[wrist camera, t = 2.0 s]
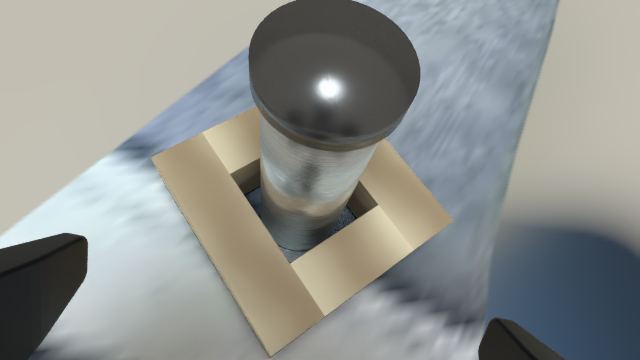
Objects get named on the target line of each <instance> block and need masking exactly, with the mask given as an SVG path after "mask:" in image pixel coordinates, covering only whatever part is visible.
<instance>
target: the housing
mask: <svg viewBox="0 0 640 360" xmlns="http://www.w3.org/2000/svg"><path fill="white" fill-rule="evenodd" d="M150 158H151V159H152V161H153V163H154V165H155V167H156V169H157V171H158V172H159V174H160V176H161V178H162V180H163V182H164V184H165V186H166V187H167V189H168V191H169V192H170V194H171V195H172V197H173V199H174V200H175V202H176V204H177V205H178V207H179V209H180V210H181V212H182V214H183V215H184V217H185V219H186V220H187V222H188V224H189V225H190V227H191V229H192V230H193V232H194V234H195V235H196V237H197V238H198V240H199V242H200V243H201V245H202V247H203V248H204V250H205V252H206V253H207V255H208V257H209V258H210V260H211V262H212V263H213V265H214V267H215V268H216V270H217V272H218V273H219V275H220V276H221V278H222V280H223V281H224V283H225V285H226V286H227V288H228V290H229V291H230V293H231V295H232V296H233V298H234V300H235V301H236V303H237V305H238V306H239V308H240V310H241V311H242V313H243V315H244V316H245V318H246V319H247V321H248V323H249V324H250V326H251V328H252V329H253V331H254V333H255V334H256V336H257V338H258V339H259V341H260V343H261V344H262V346H263V348H264V349H265V351H266V353H267V354H268V356H269V357H272V356H273V355H274V354H276V353H277V352H278V351H280V350H281V349H282V348H284V347H285V346H286V345H288V344H289V343H290V342H292V341H293V340H294V339H296V338H297V337H298V336H300V335H301V334H302V333H304V332H305V331H306V330H308V329H309V328H310V327H312V326H313V325H315V324H316V323H317V322H319V321H320V320H321V319H323V318H324V317H325V316H327V315H328V314H329V313H331V312H332V311H333V310H335V309H336V308H337V307H339V306H340V305H341V304H343V303H344V302H345V301H347V300H348V299H349V298H351V297H352V296H353V295H355V294H356V293H357V292H359V291H360V290H362V289H363V288H364V287H366V286H367V285H368V284H370V283H371V282H372V281H374V280H375V279H376V278H378V277H379V276H380V275H382V274H383V273H384V272H386V271H387V270H388V269H390V268H391V267H392V266H394V265H395V264H396V263H398V262H399V261H400V260H402V259H403V258H404V257H406V256H407V255H409V254H410V253H411V252H413V251H414V250H415V249H417V248H418V247H419V246H421V245H422V244H423V243H425V242H426V241H427V240H429V239H430V238H431V237H433V236H434V235H435V234H437V233H438V232H439V231H441V230H442V229H443V228H444V227H446V226H447V225H448V224H450V223H451V222H452V221H454V220H453V219H452V218H451V217H450V215H449V214H448V213H447V212H446V211H445V209H444V208H443V207H442V206H441V205H440V203H439V202H438V201H437V200H436V199H435V197H434V196H433V195H432V194H431V193H430V191H429V190H428V189H427V188H426V187H425V186H424V184H423V183H422V182H421V181H420V180H419V178H418V177H417V176H416V175H415V174H414V172H413V171H412V170H411V169H410V168H409V166H408V165H407V164H406V163H405V162H404V160H403V159H402V158H401V157H400V156H399V154H398V153H397V152H396V151H395V150H394V148H393V147H392V146H391V145H390V144H389V142H388V141H387V140H386V139H385V138H384V139H383V140H381V141H380V142H379V144H378V146H377V148H376V149H375V151H374V153H373V155H372V157H371V159H370V161H369V163H368V165H367V167H366V168H365V170H364V172H363V174H362V176H361V178H360V180H359V182H358V184H357V186H356V188H355V189H354V191H353V193H352V195H351V197H350V199H349V201H348V203H347V206H348V207H349V209H350V210H351V211H352V213H353V214H354V215H355V217H356V218H357V220H355V221H354V222H352V223H351V224H349V225H348V226H346V227H344V228H343V229H341V230H340V231H338V232H337V233H335V234H334V235H332V236H331V237H329V238H328V239H326V240H325V241H323V242H322V243H320V244H319V245H317V246H316V247H314V248H313V249H311V250H310V251H308V252H307V253H305V254H304V255H302V256H301V257H299V258H298V259H296V260H295V261H293V262H292V263H289V262H288V260H287V259H286V257H285V256H284V254H283V253H282V251H281V250H280V248H279V247H278V245H277V244H276V242H275V241H274V239H273V238H272V236H271V235H270V233H269V232H268V230H267V229H266V227H265V226H264V224H263V223H262V221H261V220H260V218H259V217H258V215H257V214H256V212H255V211H254V209H253V208H252V206H251V205H250V203H249V202H248V200H247V199H246V197H245V196H244V194H246V193H248V192H250V191H251V190H253V189H255V188H257V187H258V186H260V185H261V175H260V111H259V109H258V108H257V106H256V107H254V108H252V109H250V110H247V111H245V112H243V113H241V114H239V115H237V116H235V117H233V118H231V119H229V120H227V121H225V122H223V123H221V124H219V125H217V126H214V127H212V128H210V129H208V130H206V131H204V132H202V133H200V134H198V135H196V136H194V137H192V138H190V139H188V140H186V141H183V142H181V143H179V144H177V145H175V146H173V147H171V148H169V149H167V150H165V151H163V152H161V153H159V154H157V155H155V156H152V157H150Z"/></svg>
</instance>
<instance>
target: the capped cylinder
mask: <svg viewBox="0 0 640 360" xmlns="http://www.w3.org/2000/svg"><path fill="white" fill-rule="evenodd" d="M249 78H250V89H251V93H252V96H253V99H254V102H255V104H256V106H257V108H258V109H259V111H260V175H261V221H262V223H263V224H264V226H265V227H266V229H267V230H268V232H269V233H270V235H271V236H272V238H273V239H274V241H275V242H276V243H277V244H278V245H280V246H282V247H284V248H286V249H290V250H296V251H303V250H309V249H312V248H314V247H316V246H317V245H319V244H320V243H322V242H323V241H325V240H326V239H328V237H329V236H330V235H331V233H332V231H333V229H334V228H335V226H336V224H337V222H338V220H339V218H340V216H341V214H342V212H343V210H344V209H345V207H346V205H347V203H348V201H349V199H350V197H351V195H352V193H353V191H354V189H355V188H356V186H357V184H358V182H359V180H360V178H361V176H362V174H363V172H364V170H365V168H366V167H367V165H368V163H369V161H370V159H371V157H372V155H373V153H374V151H375V149H376V148H377V146H378V144H379V142H380V141H381V140H383V139H384V138H386V137H387V136H389V135H390V134H391V133H392V132H393V131H394V130H395V129H396V128H397V126H398V125H399V124H400V123H401V121H402V119H403V117H404V116H405V114H406V112H407V110H408V109H409V107H410V105H411V103H412V101H413V100H414V98H415V96H416V94H417V91H418V88H419V83H420V65H419V60H418V57H417V54H416V51H415V49H414V47H413V45H412V43H411V42H410V40H409V39H408V37H407V36H406V34H405V33H404V32H403V31H402V30H401V29H400V28H399V27H398V26H397V25H396V24H395V23H394V22H393V21H392V20H390V19H389V18H388V17H386V16H385V15H383V14H382V13H380V12H379V11H377V10H375V9H373V8H371V7H369V6H366V5H364V4H361V3H359V2H355V1H352V0H296V1H293V2H290V3H287V4H286V5H283V6H281V7H279V8H277V9H276V10H274V11H273V12H271V13H270V14H269V15H268V16H267V17H266V18H265V19H264V20H263V21H262V22H261V23H260V24H259V26H258V27H257V29H256V30H255V32H254V34H253V37H252V39H251V43H250V47H249Z"/></svg>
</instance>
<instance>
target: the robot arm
mask: <svg viewBox="0 0 640 360" xmlns="http://www.w3.org/2000/svg"><path fill="white" fill-rule="evenodd" d="M87 260H88V242H87V239H86V238H85V237H84V236H81V235H76V234H71V233H62V234H58V235H54V236H50V237H46V238H42V239H38V240H34V241H30V242H26V243H22V244H18V245H14V246H10V247H6V248H2V249H0V360H28V358H29V357H30V356H31V355H32V354H33V352H34V351H35V350H36V349H37V347H38V346H39V345H40V344H41V342H42V341H43V340H44V338H45V337H46V336H47V334H48V333H49V331H50V330H51V328H52V327H53V325H54V324H55V322H56V321H57V320H58V318H59V317H60V315H61V314H62V312H63V311H64V309H65V308H66V306H67V305H68V303H69V302H70V300H71V299H72V297H73V296H74V294H75V293H76V291H77V290H78V288H79V287H80V285H81V284H82V283H83V281H84V279H85V277H86V274H87ZM478 356H479V360H566V359H565V358H563V357H562V356H561V355H559V354H558V353H557V352H555V351H554V350H552V349H551V348H550V347H548V346H547V345H545V344H544V343H543V342H541V341H540V340H539V339H537V338H536V337H534V336H533V335H532V334H530V333H529V332H527V331H526V330H525V329H523V328H522V327H521V326H519V325H518V324H517V323H515V322H514V321H511V320H508V319H503V318H496V317H495V318H493V319H492V320H491V321H490V322H489V324H488V327H487V329H486V331H485V334H484V336H483V338H482V340H481V343H480V345H479V350H478Z"/></svg>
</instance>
